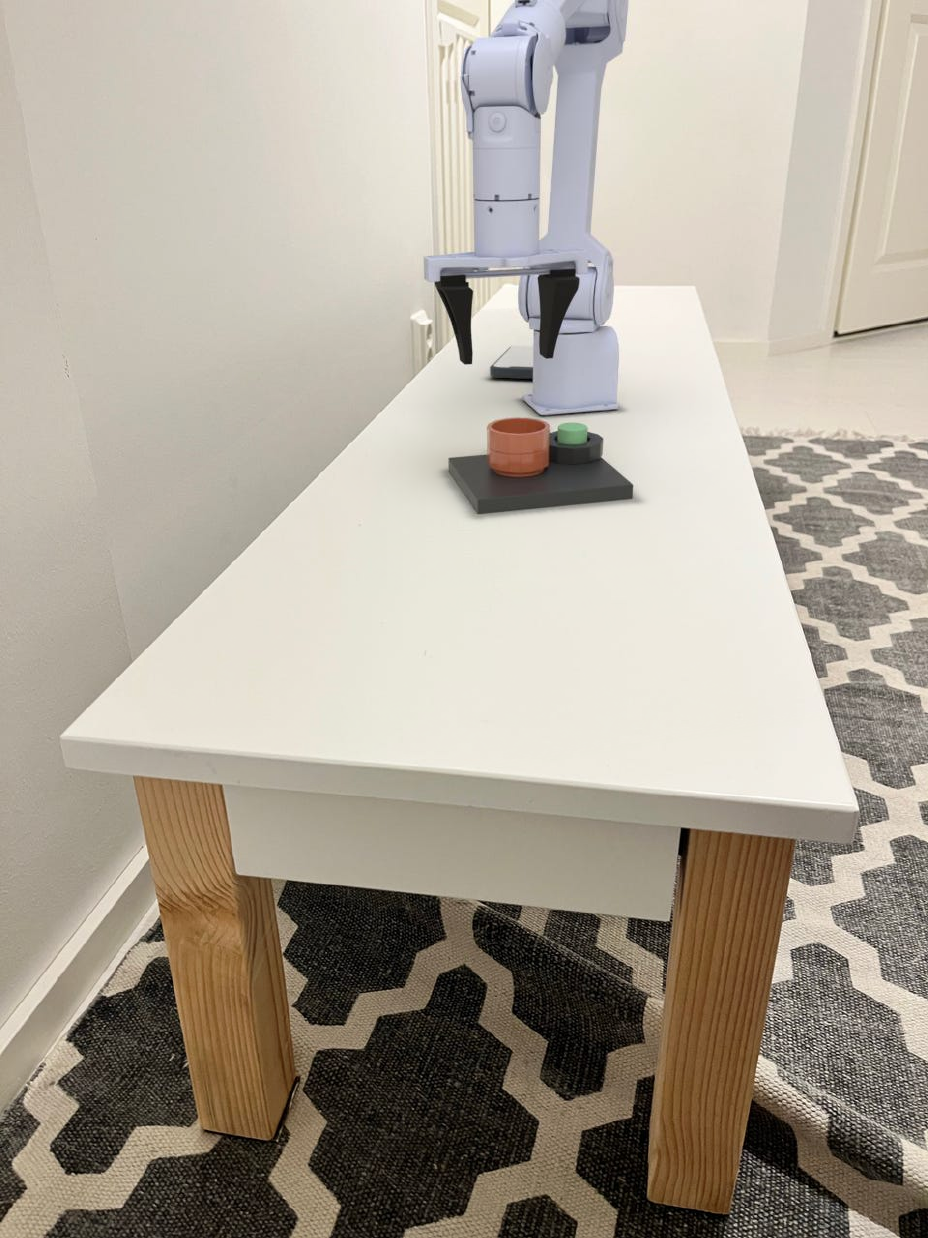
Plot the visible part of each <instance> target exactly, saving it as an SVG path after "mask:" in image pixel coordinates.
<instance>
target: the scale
mask: <svg viewBox="0 0 928 1238" xmlns="http://www.w3.org/2000/svg"><path fill="white" fill-rule="evenodd" d="M557 433H558V430H555V431H552V432H550V456H549V465H548V466H547V467H546V468H545V470H544V471H543V472H542V473H539V474H537V475H533V476H527V477H510V476H504V475H500V474H497V473H495V472H494V471H493V470H492V468H490V467H489V465H488V464H487V454H478V455H465V456H455V457H448V459H447V461H448V462H447V463H448V472H449V474H450V476H451V477H452V479H454V482H455V483H456V484H457V486H458V487H459V489H460V490H461V492H462V493H463V495H464V496H465V498H466V499H467V500H468V502H469V503H470V505H471V507H472V508H473V510H474V511H475V512H476V514H477V515H485V514H494V513H504V512H516V511H523V510H524V511H525V510H534V509H543V508H545V509H546V508H555V507H565V506H575V505H585V504H595V503H604V502H605V503H606V502H615V501H623V500H624V501H625V500H633V497H634V495H633V494H634V484H633V483H632V482H631V481H630V480H628V479H627V478H626V477H625V476H624V475H623V474H622V473H621V472H619V471H618V470H617V469H615V468H614V467H613V466H612V465H611V464H610V463H609V462H608V461H606V460H605V459H604V458H603V454H604V437H602V436H601V435H600V434H598V433H594V432H590V431H587V442H586V443H583V444H563V443H559V442H557Z"/></svg>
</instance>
